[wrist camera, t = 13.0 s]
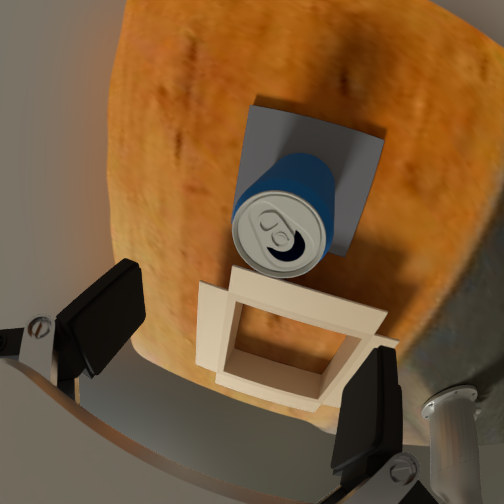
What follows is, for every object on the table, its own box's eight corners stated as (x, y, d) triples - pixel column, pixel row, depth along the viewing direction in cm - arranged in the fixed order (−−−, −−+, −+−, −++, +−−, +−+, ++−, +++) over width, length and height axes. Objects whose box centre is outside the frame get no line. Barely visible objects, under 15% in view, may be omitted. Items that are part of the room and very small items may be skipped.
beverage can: (294, 225, 28) (267, 297, 18) (256, 175, 27) (205, 221, 17) (347, 194, 25) (354, 256, 15) (309, 138, 23) (289, 160, 13)
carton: (407, 292, 29) (414, 320, 25) (336, 393, 42) (333, 416, 38) (219, 235, 33) (201, 255, 28) (206, 353, 45) (195, 375, 41)
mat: (382, 139, 22) (384, 140, 21) (344, 252, 29) (344, 257, 28) (252, 105, 24) (249, 105, 23) (233, 219, 31) (230, 223, 30)
